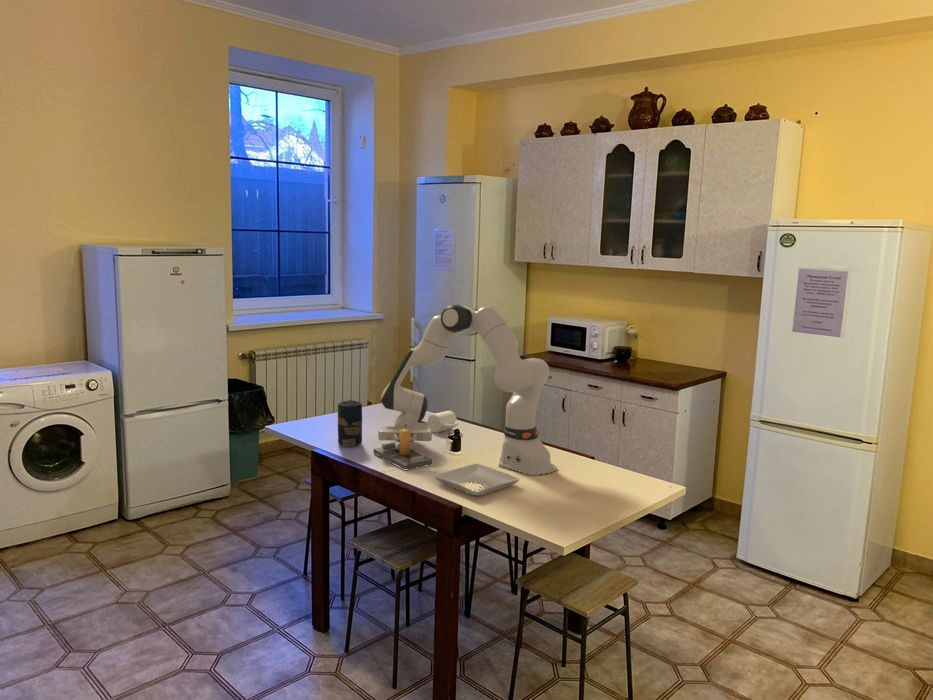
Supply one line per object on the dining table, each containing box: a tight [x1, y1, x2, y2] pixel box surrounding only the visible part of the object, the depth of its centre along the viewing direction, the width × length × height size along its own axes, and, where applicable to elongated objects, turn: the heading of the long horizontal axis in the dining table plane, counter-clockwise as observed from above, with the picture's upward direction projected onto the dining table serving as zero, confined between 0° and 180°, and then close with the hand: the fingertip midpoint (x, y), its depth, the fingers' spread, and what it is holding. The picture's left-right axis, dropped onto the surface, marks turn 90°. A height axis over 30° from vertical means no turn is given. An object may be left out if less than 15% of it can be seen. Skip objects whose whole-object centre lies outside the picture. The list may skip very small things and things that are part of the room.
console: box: [373, 441, 433, 470], centre depth 266 cm, size 22×12×4 cm, turn 38°
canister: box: [337, 399, 363, 447], centre depth 280 cm, size 10×10×18 cm
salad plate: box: [434, 463, 520, 497], centre depth 242 cm, size 21×21×3 cm
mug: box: [427, 410, 459, 434], centre depth 303 cm, size 12×10×8 cm
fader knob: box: [398, 429, 411, 456], centre depth 264 cm, size 4×4×9 cm
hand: (404, 440), depth 263 cm, fingers closed on fader knob, 4 cm apart
